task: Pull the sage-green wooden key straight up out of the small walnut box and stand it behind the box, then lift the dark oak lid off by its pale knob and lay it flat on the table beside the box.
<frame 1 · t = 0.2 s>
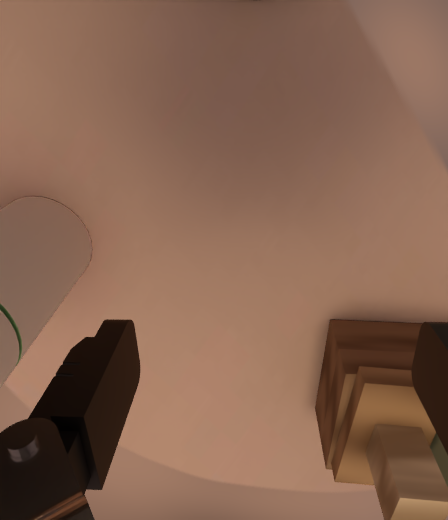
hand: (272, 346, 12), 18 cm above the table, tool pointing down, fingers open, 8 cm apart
cylindrical container: (45, 240, 31), on the table
lid: (414, 424, 29), point 6 cm above the table, touching box
key: (431, 403, 31), point 4 cm above the table, touching box
box: (381, 369, 35), on the table
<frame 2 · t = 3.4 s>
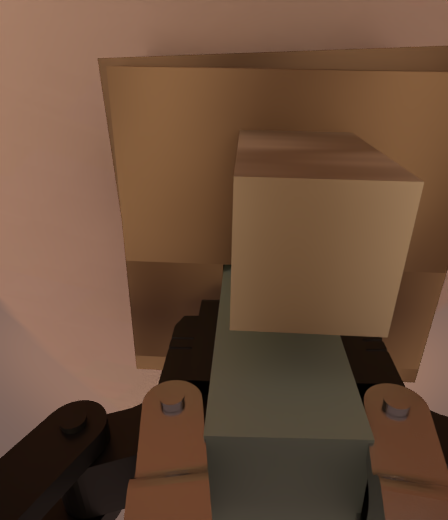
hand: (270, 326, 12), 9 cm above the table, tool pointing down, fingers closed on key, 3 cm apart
lid: (281, 231, 14), point 6 cm above the table, touching box
key: (265, 262, 17), point 4 cm above the table, touching gripper
box: (262, 174, 19), on the table
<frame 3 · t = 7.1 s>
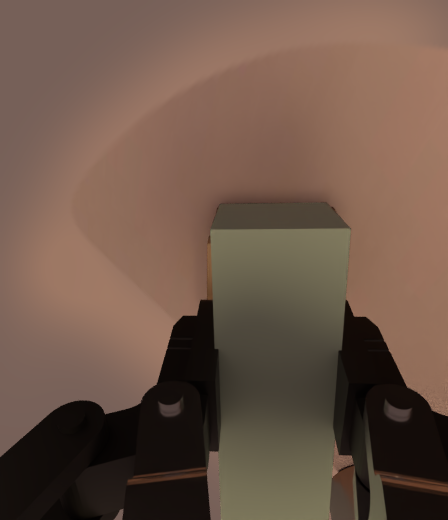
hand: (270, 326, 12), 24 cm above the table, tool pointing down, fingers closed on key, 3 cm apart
key: (271, 514, 13), point 26 cm above the table, tilted 97°, touching gripper
when the fingers open (7 cm above the table, at t = 10.6 s): key moves 2 cm and tips over, point 9 cm above the table.
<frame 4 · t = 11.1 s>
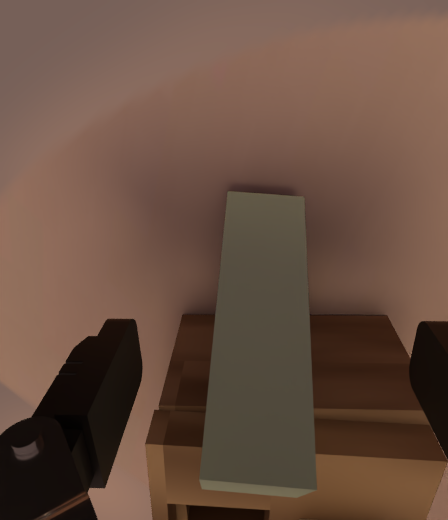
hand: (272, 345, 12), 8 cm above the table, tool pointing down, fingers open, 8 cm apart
lid: (279, 504, 17), point 6 cm above the table, touching box
key: (253, 489, 12), point 9 cm above the table, tilted 150°
box: (280, 391, 22), on the table
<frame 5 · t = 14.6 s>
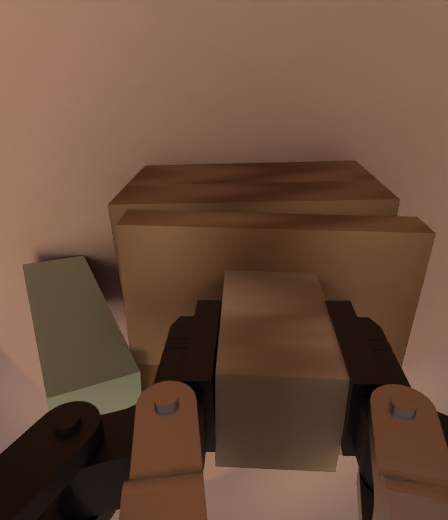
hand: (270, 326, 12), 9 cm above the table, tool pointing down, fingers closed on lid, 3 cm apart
lid: (263, 331, 16), point 6 cm above the table, touching box, gripper
key: (99, 417, 14), point 9 cm above the table, tilted 150°
box: (249, 258, 22), on the table
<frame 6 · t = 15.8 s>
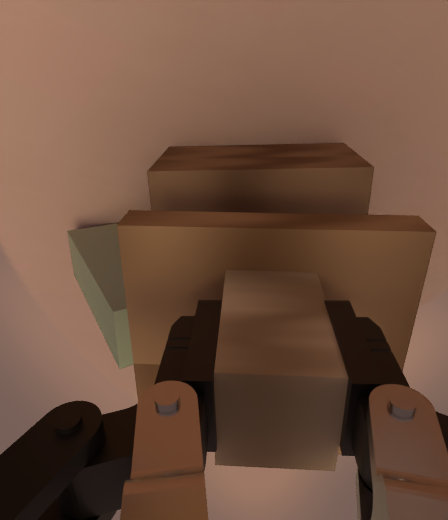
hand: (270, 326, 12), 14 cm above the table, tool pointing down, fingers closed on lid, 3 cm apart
lid: (264, 331, 16), point 11 cm above the table, touching gripper
key: (149, 331, 18), point 9 cm above the table, tilted 148°
box: (255, 226, 26), on the table
when the fingers open (5 cm above the table, at t = 22.8 s): lid drops 1 cm, on the table.
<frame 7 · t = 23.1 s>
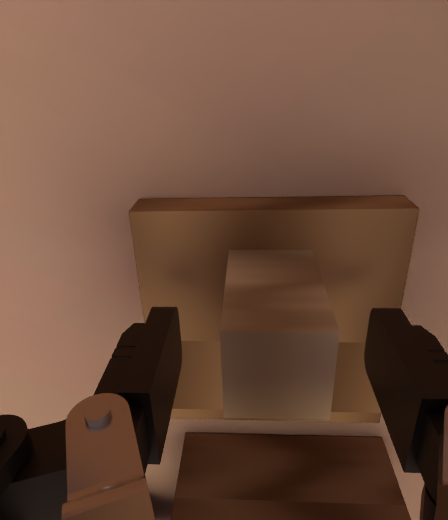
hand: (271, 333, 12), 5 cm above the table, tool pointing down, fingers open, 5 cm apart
lid: (267, 308, 18), on the table
box: (279, 497, 23), on the table
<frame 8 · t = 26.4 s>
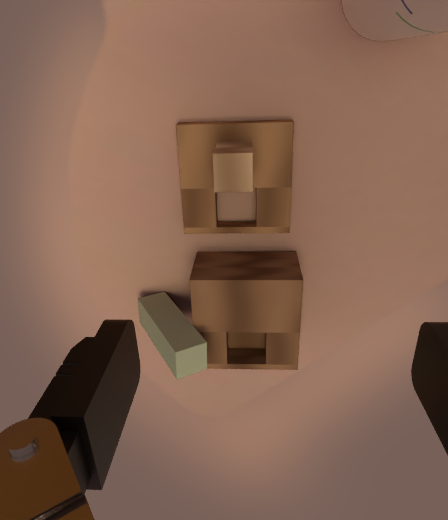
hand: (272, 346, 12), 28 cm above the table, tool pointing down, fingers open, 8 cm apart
lid: (235, 177, 38), on the table
key: (191, 360, 36), point 9 cm above the table, tilted 148°, touching box
box: (246, 294, 43), on the table
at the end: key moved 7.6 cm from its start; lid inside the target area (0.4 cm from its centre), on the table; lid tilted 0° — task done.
